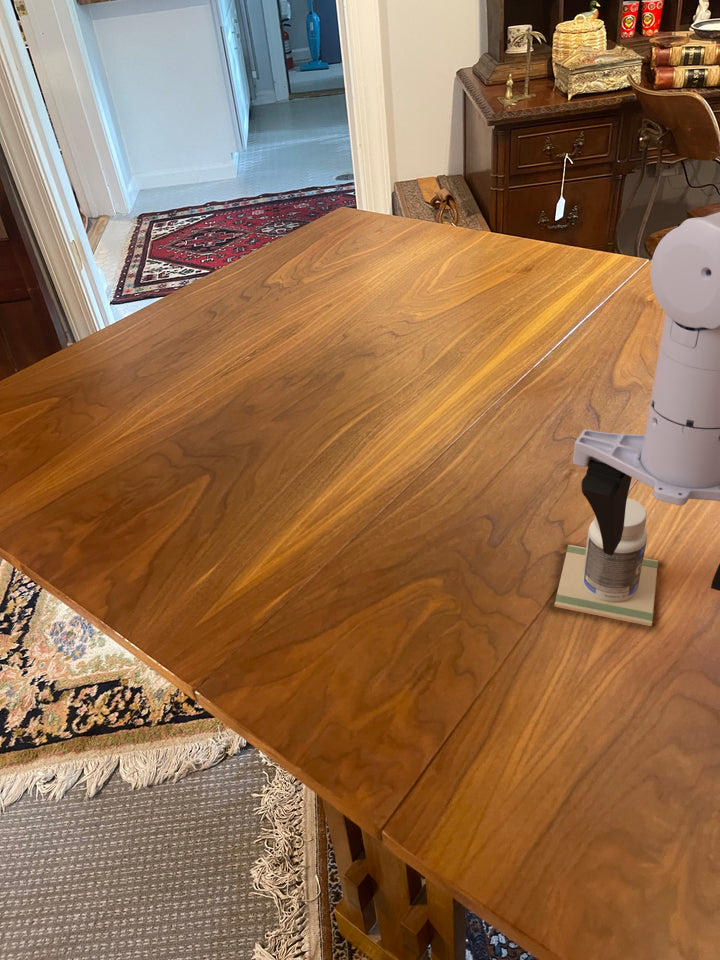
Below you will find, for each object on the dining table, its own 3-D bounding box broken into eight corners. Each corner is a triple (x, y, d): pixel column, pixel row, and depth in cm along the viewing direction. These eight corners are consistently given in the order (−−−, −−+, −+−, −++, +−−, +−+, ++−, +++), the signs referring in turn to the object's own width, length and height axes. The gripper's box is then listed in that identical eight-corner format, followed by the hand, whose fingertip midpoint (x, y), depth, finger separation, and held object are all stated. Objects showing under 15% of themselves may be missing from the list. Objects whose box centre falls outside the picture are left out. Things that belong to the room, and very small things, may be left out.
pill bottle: (643, 602, 63) (659, 528, 58) (587, 603, 63) (598, 530, 58) (630, 564, 67) (643, 491, 62) (577, 566, 67) (586, 493, 62)
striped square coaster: (657, 563, 67) (658, 559, 67) (651, 626, 61) (652, 622, 61) (568, 547, 70) (568, 543, 70) (554, 606, 64) (554, 603, 64)
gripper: (563, 408, 47) (549, 563, 55) (819, 469, 40) (760, 636, 48) (601, 361, 52) (582, 511, 60) (837, 408, 44) (780, 570, 53)
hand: (663, 563), depth 54 cm, fingers open, 7 cm apart
